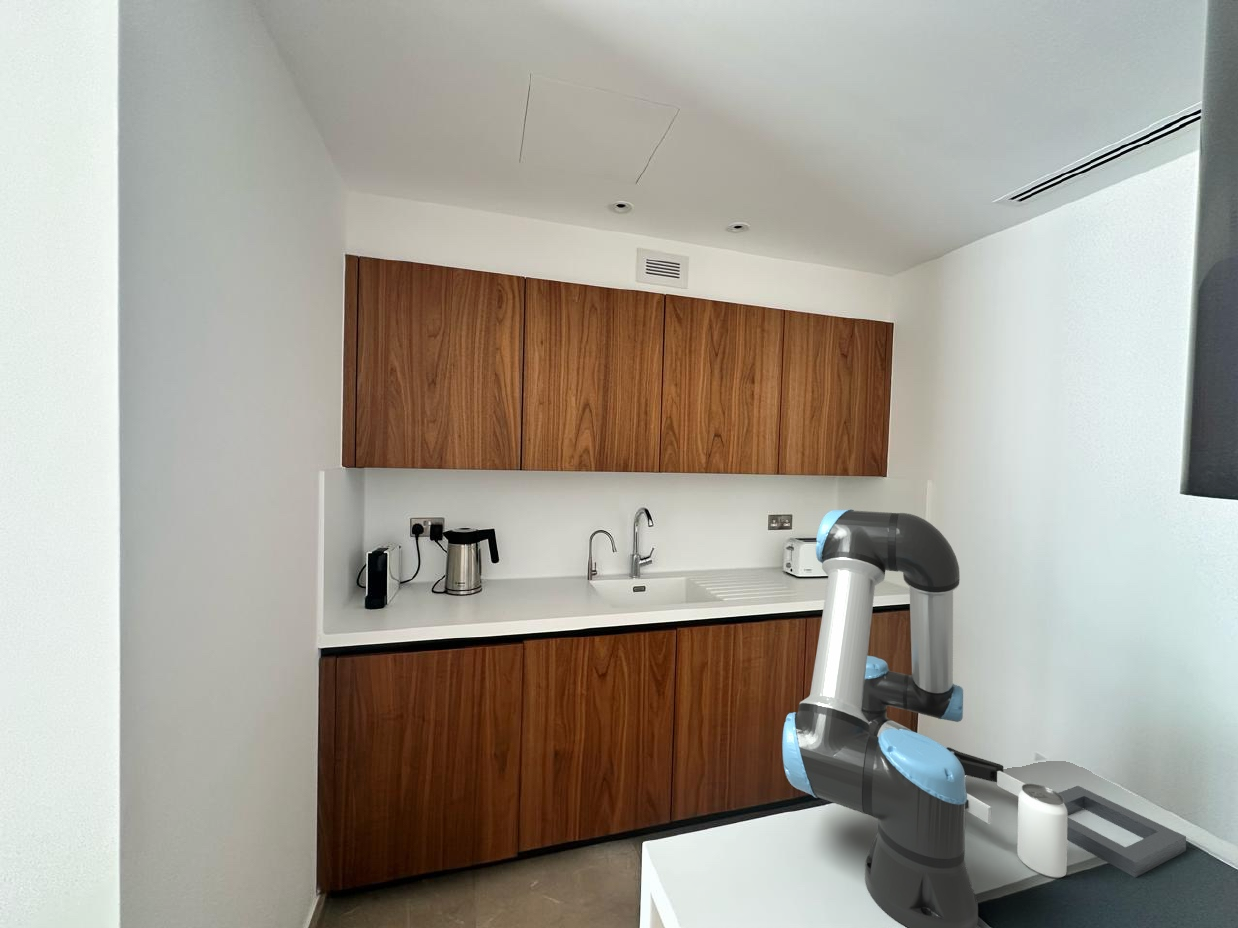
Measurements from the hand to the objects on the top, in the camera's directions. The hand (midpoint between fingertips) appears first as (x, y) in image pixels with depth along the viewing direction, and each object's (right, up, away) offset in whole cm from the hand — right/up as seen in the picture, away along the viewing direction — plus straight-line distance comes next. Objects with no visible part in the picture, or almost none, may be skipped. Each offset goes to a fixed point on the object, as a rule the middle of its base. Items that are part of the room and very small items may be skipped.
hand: (1013, 806), depth 93 cm
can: (+1, -7, -5) cm, 8 cm away
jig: (+19, -7, +3) cm, 21 cm away
